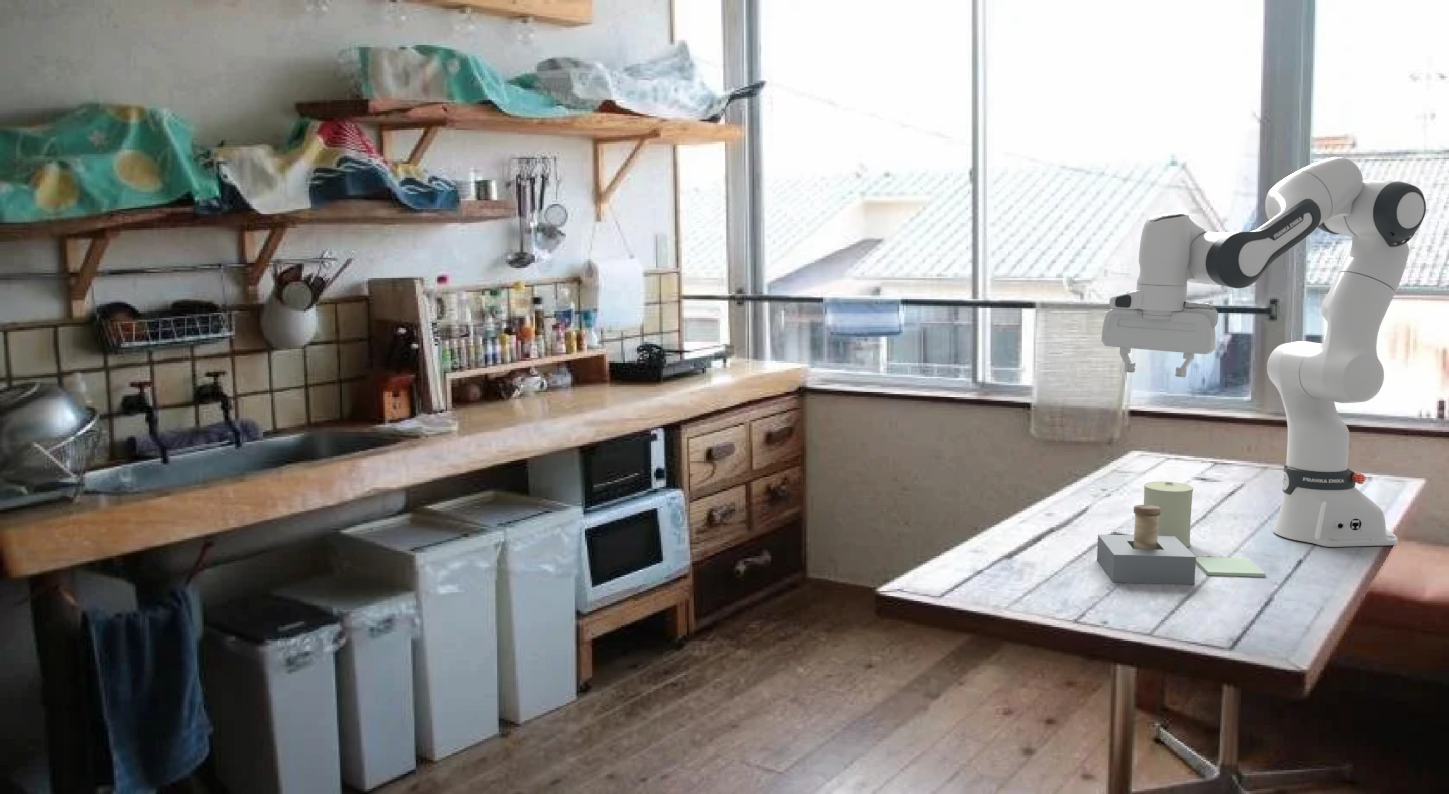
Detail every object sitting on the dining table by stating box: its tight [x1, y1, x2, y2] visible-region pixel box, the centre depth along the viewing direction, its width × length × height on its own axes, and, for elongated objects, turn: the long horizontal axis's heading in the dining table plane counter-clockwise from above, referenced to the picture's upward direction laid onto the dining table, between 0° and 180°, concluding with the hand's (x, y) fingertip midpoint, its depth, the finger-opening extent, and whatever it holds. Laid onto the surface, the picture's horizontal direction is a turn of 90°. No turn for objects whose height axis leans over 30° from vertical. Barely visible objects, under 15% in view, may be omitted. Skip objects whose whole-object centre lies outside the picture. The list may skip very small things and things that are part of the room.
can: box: [1143, 481, 1194, 549], centre depth 241 cm, size 9×9×12 cm
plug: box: [1133, 504, 1161, 549], centre depth 221 cm, size 5×5×12 cm
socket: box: [1096, 534, 1197, 585], centre depth 222 cm, size 14×14×5 cm
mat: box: [1196, 556, 1267, 578], centre depth 224 cm, size 10×10×1 cm
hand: (1154, 374), depth 228 cm, fingers open, 8 cm apart
